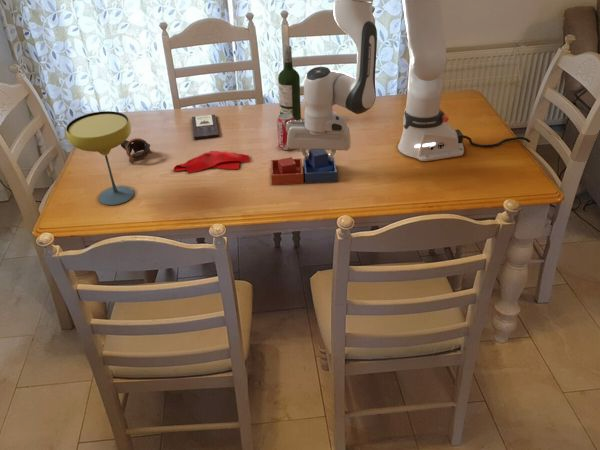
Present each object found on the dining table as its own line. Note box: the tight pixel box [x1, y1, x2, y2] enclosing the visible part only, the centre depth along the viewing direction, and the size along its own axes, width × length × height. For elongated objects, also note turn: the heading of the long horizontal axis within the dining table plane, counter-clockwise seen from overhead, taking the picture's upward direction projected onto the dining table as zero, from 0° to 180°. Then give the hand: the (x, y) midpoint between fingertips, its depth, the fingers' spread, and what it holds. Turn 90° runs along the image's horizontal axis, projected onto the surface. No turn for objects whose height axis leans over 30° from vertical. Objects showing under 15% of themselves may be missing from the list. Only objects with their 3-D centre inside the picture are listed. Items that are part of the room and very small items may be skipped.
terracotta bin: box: [270, 157, 305, 186], centre depth 184 cm, size 10×10×4 cm
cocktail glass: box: [65, 110, 135, 206], centre depth 171 cm, size 18×18×25 cm
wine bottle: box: [277, 44, 302, 120], centre depth 208 cm, size 8×8×30 cm
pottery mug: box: [120, 137, 152, 165], centre depth 196 cm, size 12×10×8 cm
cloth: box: [172, 150, 251, 174], centre depth 193 cm, size 26×14×2 cm, turn 94°
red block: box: [277, 156, 296, 174], centre depth 183 cm, size 5×5×5 cm
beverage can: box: [276, 113, 295, 151], centre depth 197 cm, size 6×6×12 cm
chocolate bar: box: [191, 114, 219, 140], centre depth 215 cm, size 9×1×18 cm
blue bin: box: [302, 156, 338, 184], centre depth 184 cm, size 10×10×4 cm
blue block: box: [308, 149, 329, 169], centre depth 182 cm, size 5×5×5 cm
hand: (318, 160), depth 182 cm, fingers closed on blue block, 6 cm apart
